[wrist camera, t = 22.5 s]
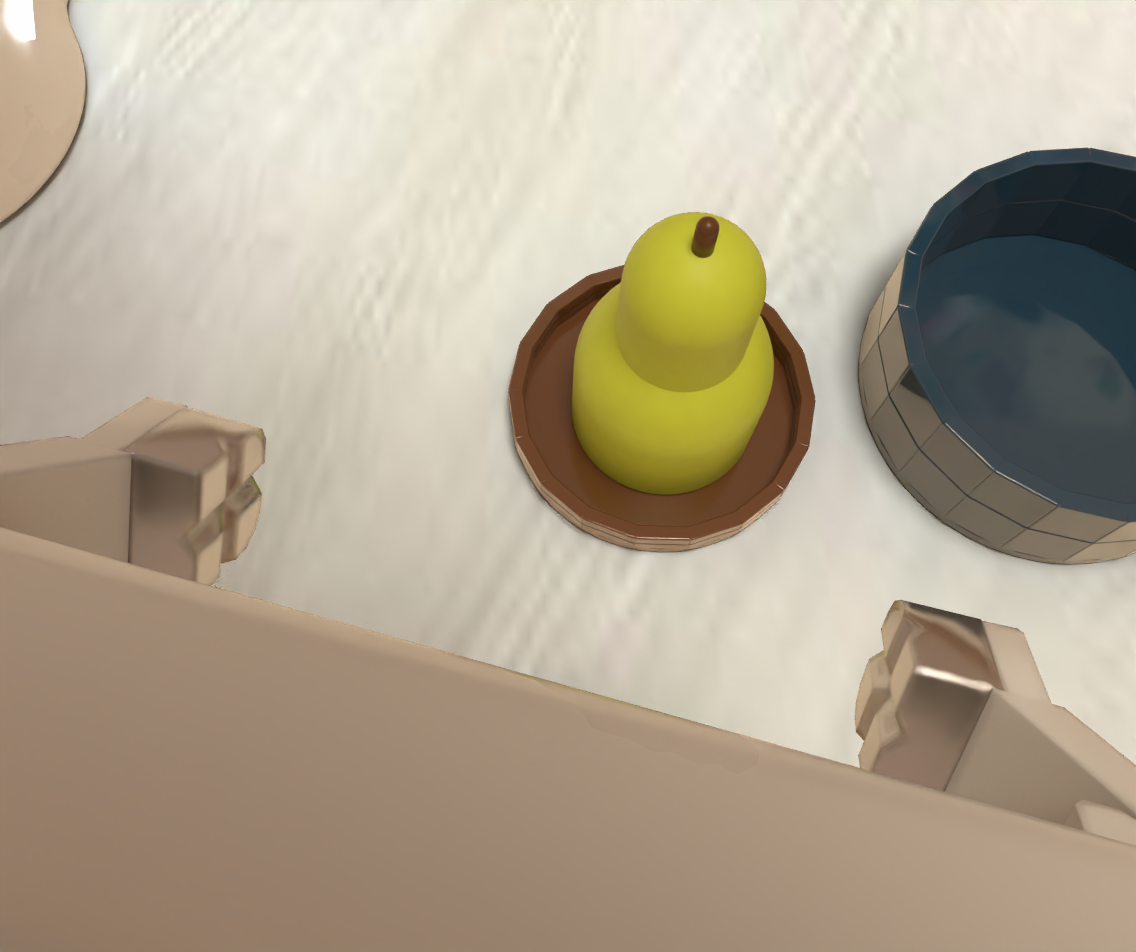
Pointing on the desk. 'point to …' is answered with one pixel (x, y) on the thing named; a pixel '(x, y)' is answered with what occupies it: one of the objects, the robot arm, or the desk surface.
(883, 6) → the desk surface
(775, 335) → the plate
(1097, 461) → the pot
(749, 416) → the pear
